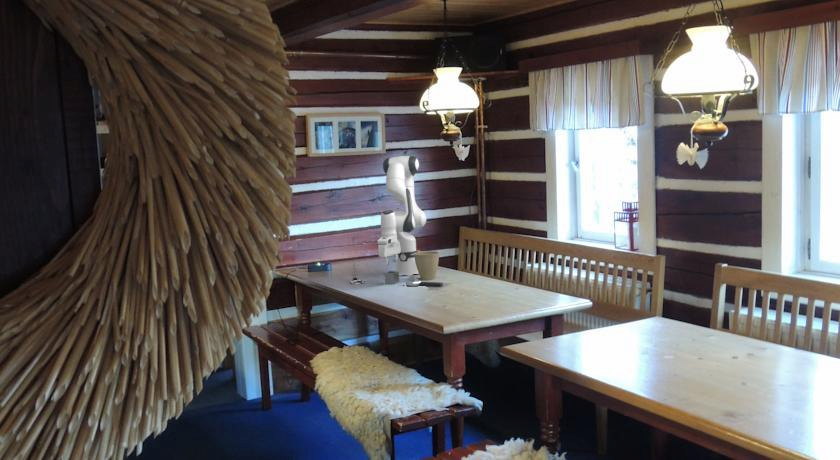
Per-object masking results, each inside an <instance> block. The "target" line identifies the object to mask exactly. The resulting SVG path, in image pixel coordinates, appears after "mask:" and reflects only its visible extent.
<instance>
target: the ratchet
mask: <svg viewBox="0 0 840 460" xmlns="http://www.w3.org/2000/svg"><path fill="white" fill-rule="evenodd" d="M443 283H444V282H440V281H439V282H436V281H423V280H421V279H418V275H409V279H408V280H406V281H405V284H406V286H407V287H418V286H426V287H442V286H443Z"/></svg>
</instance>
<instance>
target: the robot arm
mask: <svg viewBox="0 0 840 460" xmlns="http://www.w3.org/2000/svg"><path fill="white" fill-rule="evenodd" d="M382 169H383V172H384V174H385V175H386V178H385V179H386V180H385V188H386V191H387V192H388V193H389V194H390V195H391V196H393V197H396V201H397V203H399V204H400V205H402V206H404V209H401V210H392V209H388V210H384V211H382V212H381V214H380V228H381V235H380V238H379V239H377V252H378V257H379V258H382V260H383V262H384V265H385V266H387V265H389V261H388V257H392V256H393V258H392V263H396V264H395V266H396V267H395V268H396V270H395V271H399V274H401V275H400V276H403V275H407V276H411V274H418V275H419V273H418V270H417V266H416V263H415V258H414V253H416V252H421V251H420V250H419V249H417V240H416V237H415V236H414V235H413V234H411V232H413V230H414V229H419V228H422V227H425V225H426V224H427V214H426V213H425V212H424V211H423V210H422V209H421V208H420V207H419V206H418V203H417V202H416V198H415V197H416V196H415V178H414V176H415V174H417V172H418V171H419V169H420V162H419V159H418V158H417V156H414V155H409V156H408V155H400V156H393V157H391V156H390V157H386V158H385V159H384V160H383V163H382Z"/></svg>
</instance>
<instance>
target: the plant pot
mask: <svg viewBox="0 0 840 460" xmlns="http://www.w3.org/2000/svg"><path fill="white" fill-rule="evenodd" d="M414 258H415V263H416V266H417V270H418V273H419V274H418V275H419V277H420V280H422V281H433V280H435V278H436V274H437V271H438V266H439V260H440V259H439V258H440V251H436V250H435V251H434V250H429V251H427V250H426V251H425V250H424V251H420V252H416V253H414Z"/></svg>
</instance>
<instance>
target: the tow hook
mask: <svg viewBox="0 0 840 460" xmlns="http://www.w3.org/2000/svg"><path fill="white" fill-rule="evenodd" d="M352 262H353V264H352V267H353V273H352V275H353V276H352V280H357V279H358V278H357V273H356V271H357V270H356V264H355V263H356V261H355V260H353V261H352Z"/></svg>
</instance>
